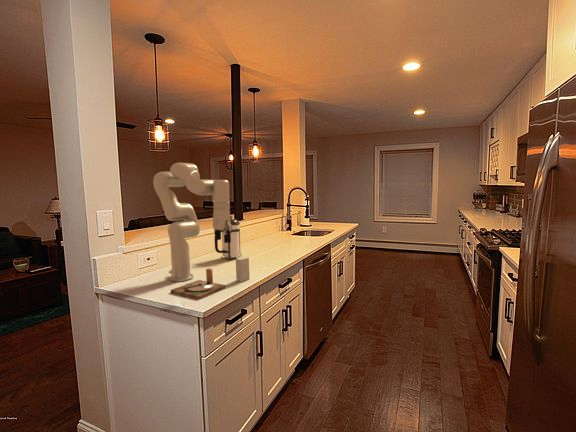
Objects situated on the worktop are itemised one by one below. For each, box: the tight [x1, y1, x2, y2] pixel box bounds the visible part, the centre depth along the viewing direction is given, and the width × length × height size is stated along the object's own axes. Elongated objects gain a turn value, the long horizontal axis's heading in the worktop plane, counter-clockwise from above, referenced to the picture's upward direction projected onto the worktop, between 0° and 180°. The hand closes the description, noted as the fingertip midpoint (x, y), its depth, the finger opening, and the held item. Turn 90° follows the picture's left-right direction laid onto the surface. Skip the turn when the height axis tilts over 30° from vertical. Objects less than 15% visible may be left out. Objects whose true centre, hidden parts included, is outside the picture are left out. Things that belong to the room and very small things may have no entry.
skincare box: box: [235, 256, 250, 283], centre depth 169 cm, size 6×4×12 cm
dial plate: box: [170, 279, 227, 300], centre depth 153 cm, size 19×18×2 cm
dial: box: [183, 267, 215, 292], centre depth 152 cm, size 15×13×8 cm
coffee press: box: [214, 215, 243, 261], centre depth 219 cm, size 17×16×30 cm
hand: (222, 241), depth 152 cm, fingers open, 9 cm apart
